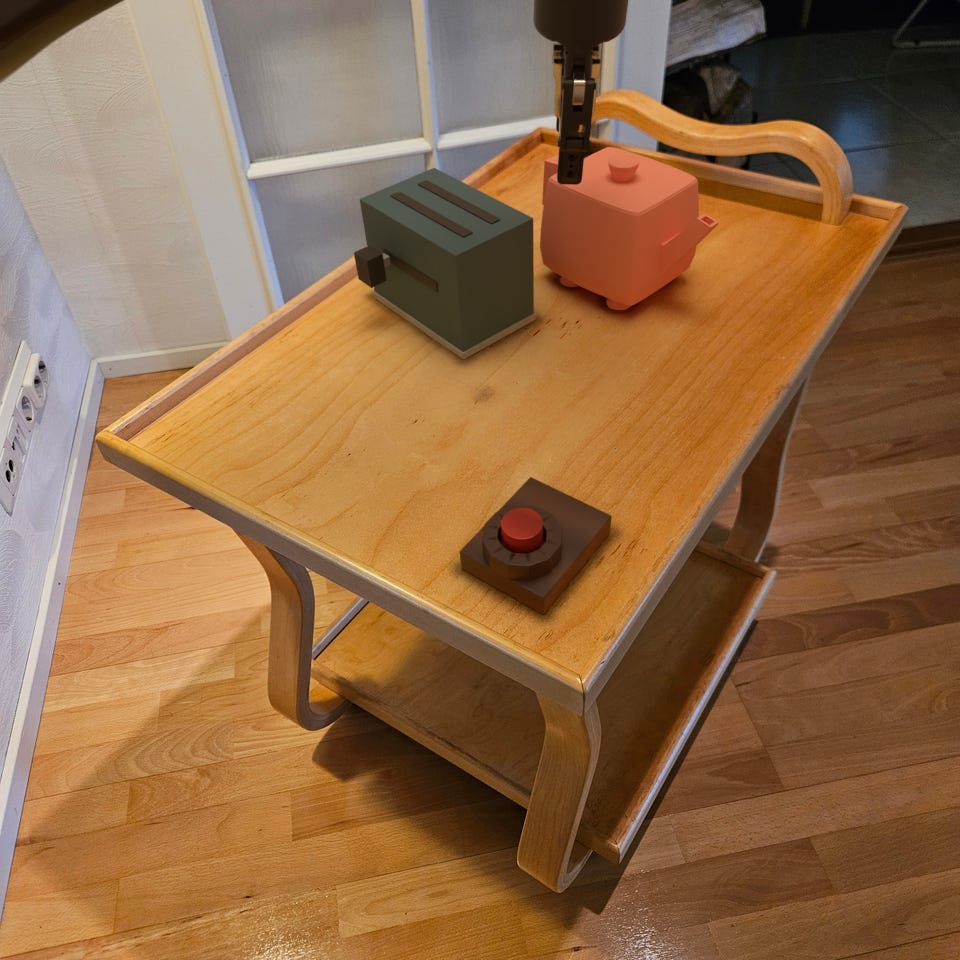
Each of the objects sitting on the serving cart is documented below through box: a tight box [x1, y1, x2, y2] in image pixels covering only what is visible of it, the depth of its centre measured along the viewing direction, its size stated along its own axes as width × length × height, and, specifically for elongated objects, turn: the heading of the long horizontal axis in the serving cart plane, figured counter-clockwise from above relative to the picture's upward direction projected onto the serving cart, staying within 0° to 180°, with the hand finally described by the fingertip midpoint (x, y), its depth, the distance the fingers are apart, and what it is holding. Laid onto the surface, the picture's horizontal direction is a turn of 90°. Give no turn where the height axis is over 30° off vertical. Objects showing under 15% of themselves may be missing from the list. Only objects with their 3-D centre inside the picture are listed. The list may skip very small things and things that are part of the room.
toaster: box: [359, 167, 537, 360], centre depth 88 cm, size 10×16×12 cm, turn 40°
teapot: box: [539, 146, 720, 311], centre depth 90 cm, size 22×13×14 cm, turn 44°
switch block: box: [459, 476, 613, 616], centre depth 66 cm, size 10×8×4 cm
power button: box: [501, 508, 543, 553], centre depth 63 cm, size 3×3×2 cm
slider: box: [353, 245, 391, 289], centre depth 87 cm, size 3×2×3 cm
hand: (568, 156), depth 77 cm, fingers open, 8 cm apart
